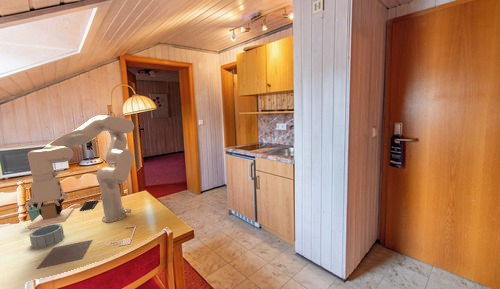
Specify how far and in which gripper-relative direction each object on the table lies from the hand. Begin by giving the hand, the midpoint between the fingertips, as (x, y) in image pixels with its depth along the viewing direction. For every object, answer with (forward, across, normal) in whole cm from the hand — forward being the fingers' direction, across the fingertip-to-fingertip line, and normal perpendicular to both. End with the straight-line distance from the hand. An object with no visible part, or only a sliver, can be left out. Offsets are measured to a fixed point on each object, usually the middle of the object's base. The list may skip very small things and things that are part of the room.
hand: (51, 214), depth 106 cm
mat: (+17, -6, +8) cm, 20 cm away
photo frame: (+18, -25, +3) cm, 31 cm away
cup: (+18, +20, -33) cm, 42 cm away
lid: (+2, 0, 0) cm, 2 cm away
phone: (+18, -1, -52) cm, 55 cm away
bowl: (+17, +7, -8) cm, 20 cm away
